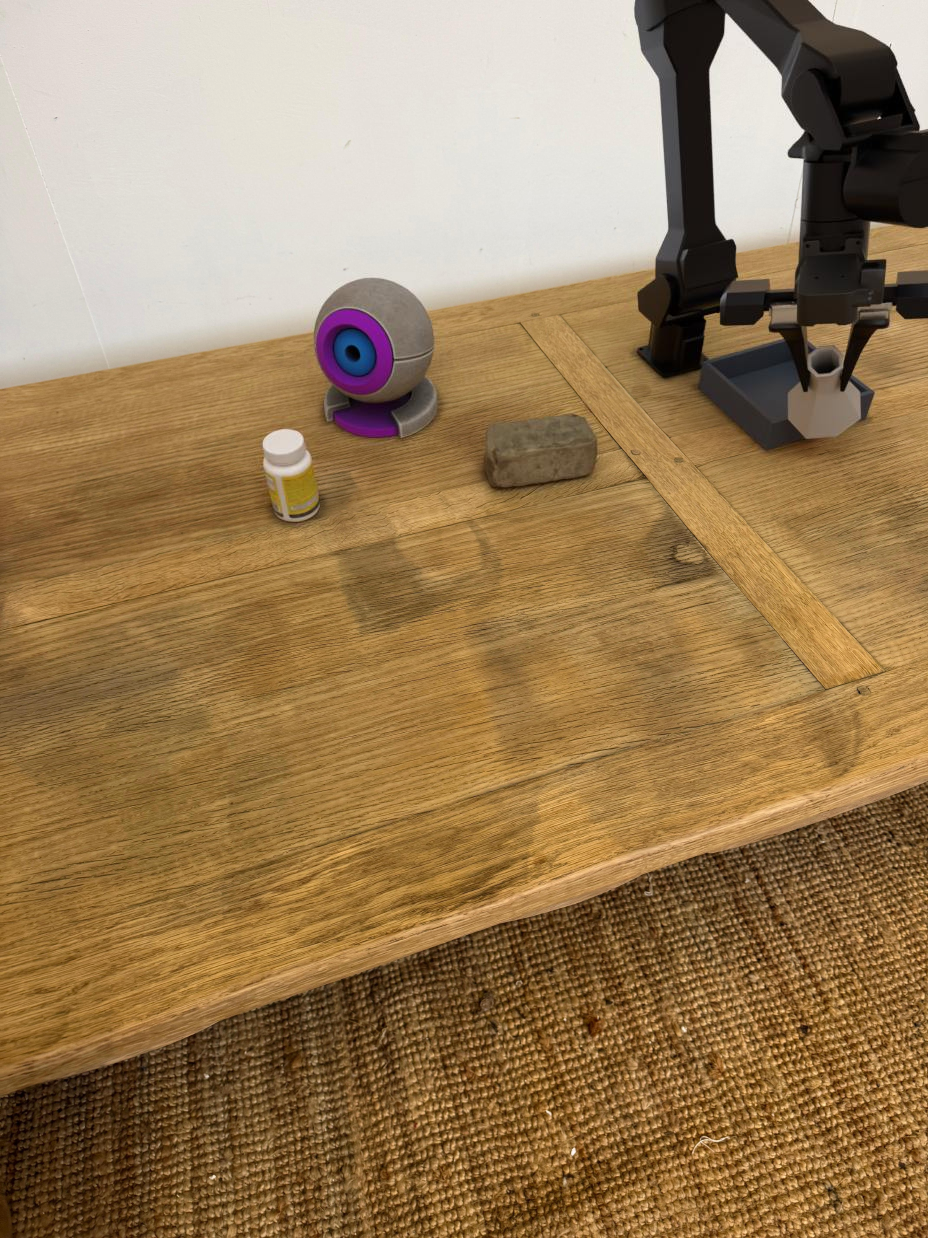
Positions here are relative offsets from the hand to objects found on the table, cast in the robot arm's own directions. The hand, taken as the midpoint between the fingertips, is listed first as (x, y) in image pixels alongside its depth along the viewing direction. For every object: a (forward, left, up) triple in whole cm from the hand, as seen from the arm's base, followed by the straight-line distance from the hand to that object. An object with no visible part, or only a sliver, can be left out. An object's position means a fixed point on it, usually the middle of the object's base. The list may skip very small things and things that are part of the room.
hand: (823, 390), depth 89 cm
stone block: (-13, -23, -11) cm, 29 cm away
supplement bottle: (-18, -48, -11) cm, 53 cm away
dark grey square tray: (-12, +7, -11) cm, 17 cm away
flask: (-3, +4, -5) cm, 7 cm away
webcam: (-31, -34, -11) cm, 48 cm away
